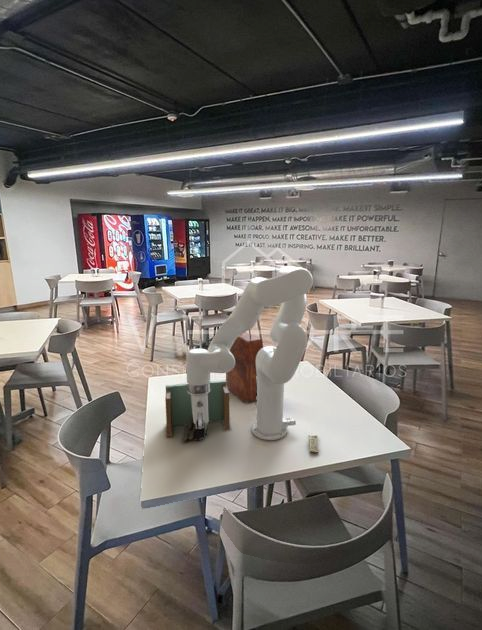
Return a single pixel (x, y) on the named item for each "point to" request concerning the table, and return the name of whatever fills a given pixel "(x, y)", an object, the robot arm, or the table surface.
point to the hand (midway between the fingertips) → (199, 437)
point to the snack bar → (313, 444)
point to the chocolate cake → (192, 429)
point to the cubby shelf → (182, 408)
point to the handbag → (244, 367)
